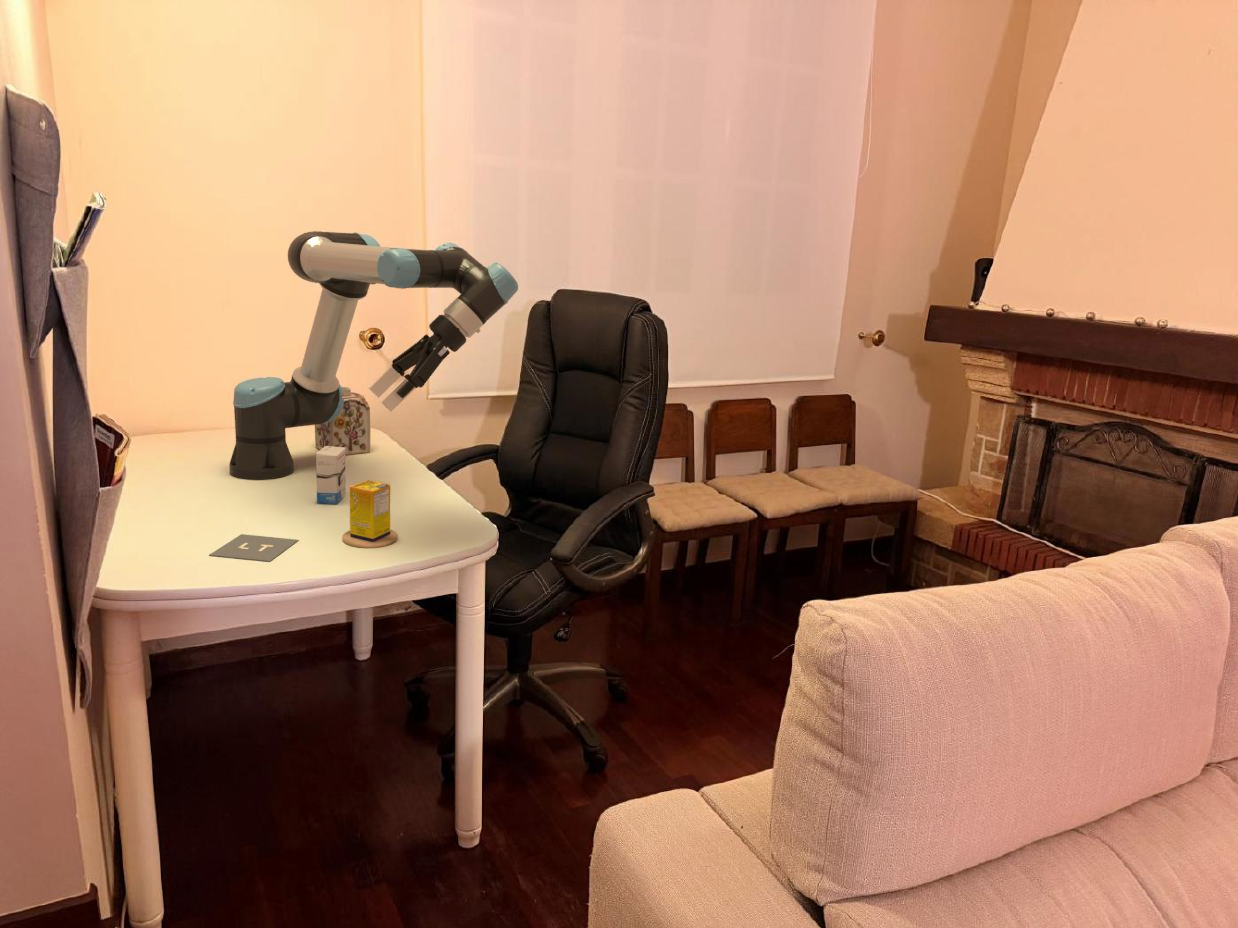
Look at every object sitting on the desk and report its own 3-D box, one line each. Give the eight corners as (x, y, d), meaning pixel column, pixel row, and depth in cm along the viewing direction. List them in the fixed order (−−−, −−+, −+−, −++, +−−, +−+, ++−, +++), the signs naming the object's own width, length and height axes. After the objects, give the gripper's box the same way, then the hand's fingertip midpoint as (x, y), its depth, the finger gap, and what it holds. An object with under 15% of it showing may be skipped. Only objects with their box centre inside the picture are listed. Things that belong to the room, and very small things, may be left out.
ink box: (338, 505, 198) (337, 455, 195) (315, 504, 198) (314, 454, 195) (346, 494, 206) (346, 446, 203) (325, 493, 206) (324, 445, 203)
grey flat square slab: (241, 535, 176) (241, 533, 176) (298, 540, 175) (298, 539, 175) (209, 555, 164) (209, 554, 164) (270, 561, 163) (270, 560, 163)
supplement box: (367, 529, 182) (367, 479, 180) (391, 534, 180) (391, 484, 177) (349, 537, 177) (348, 486, 174) (373, 542, 175) (372, 491, 172)
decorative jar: (314, 448, 245) (313, 385, 241) (353, 443, 253) (352, 383, 248) (331, 457, 237) (330, 393, 232) (371, 453, 244) (371, 390, 240)
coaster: (354, 527, 184) (354, 524, 184) (404, 532, 184) (404, 529, 183) (333, 545, 174) (333, 542, 174) (386, 550, 173) (386, 547, 173)
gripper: (484, 348, 167) (405, 426, 164) (452, 331, 188) (381, 400, 186) (458, 320, 163) (376, 399, 160) (428, 306, 185) (355, 375, 182)
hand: (379, 399), depth 173 cm, fingers open, 13 cm apart
